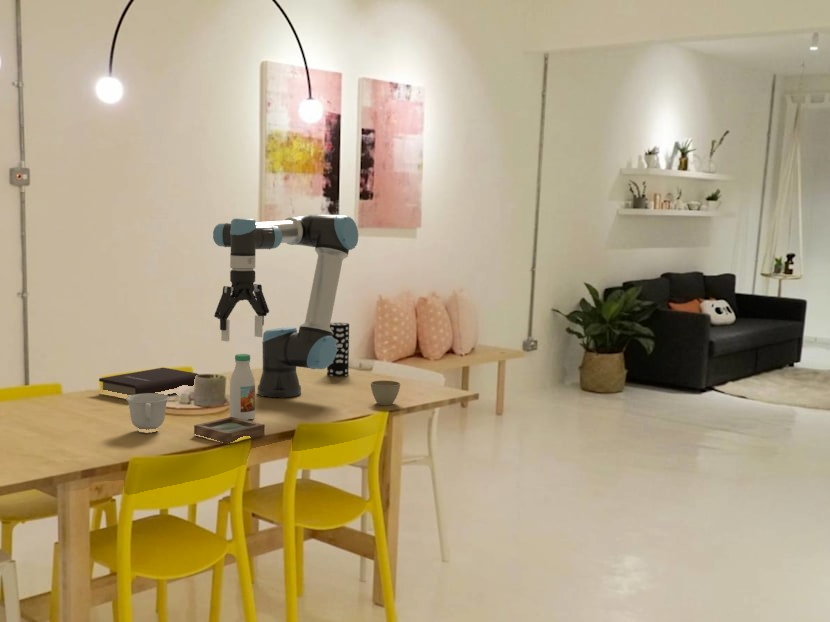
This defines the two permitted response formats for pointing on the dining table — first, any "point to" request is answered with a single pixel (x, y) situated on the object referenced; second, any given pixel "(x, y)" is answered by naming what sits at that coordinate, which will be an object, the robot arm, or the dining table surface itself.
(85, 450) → the dining table surface
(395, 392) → the bowl
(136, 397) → the teacup
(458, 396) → the dining table surface
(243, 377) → the milk bottle
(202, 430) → the brown wooden square tray
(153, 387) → the book
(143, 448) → the dining table surface
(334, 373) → the white-spotted black cylinder
